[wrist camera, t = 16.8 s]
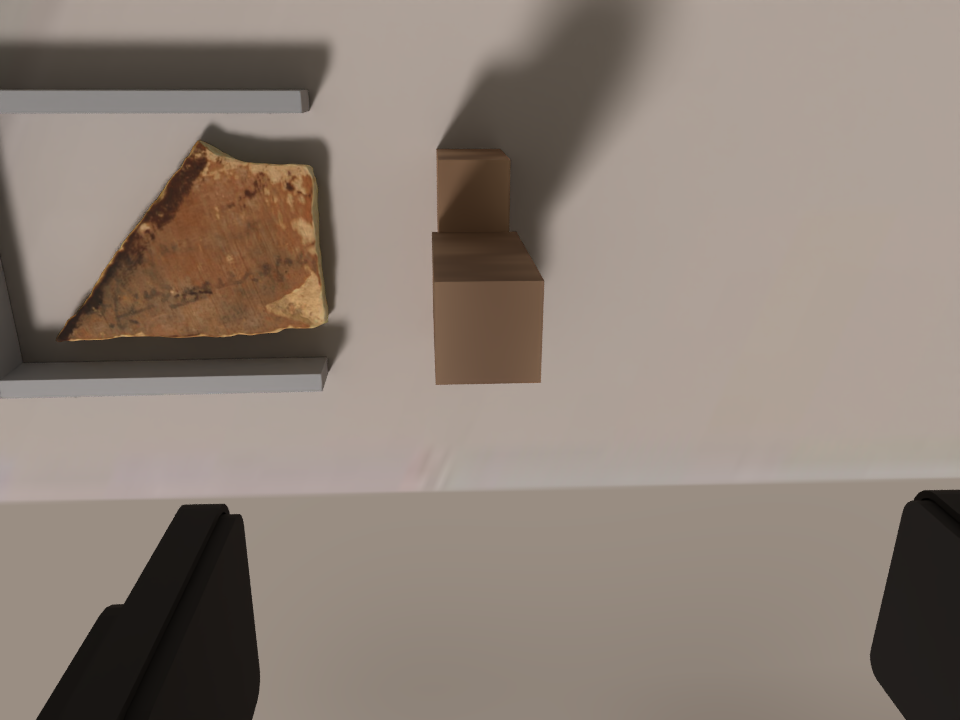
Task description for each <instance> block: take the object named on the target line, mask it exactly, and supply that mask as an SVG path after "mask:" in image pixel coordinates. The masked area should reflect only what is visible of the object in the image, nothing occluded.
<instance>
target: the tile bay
mask: <svg viewBox="0 0 960 720" xmlns="http://www.w3.org/2000/svg"><path fill="white" fill-rule="evenodd" d="M307 111H310V109H309V94H308V90H153V89H0V113H304V112H307ZM327 375H328V366H327V357H303V358H253V359H202V360H152V361H102V362H51V363H23V360H22V356H21V351H20V346H19V342H18V337H17V332H16V328H15V323H14V318H13V314H12V309H11V304H10V300H9V295H8V290H7V286H6V281H5V276H4V272H3V267H2V262H1V258H0V399H6V398H51V397H95V396H139V395H184V394H228V393H272V392H317V391H323V388H324V384H325V381H326V378H327Z"/></svg>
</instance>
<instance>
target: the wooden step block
mask: <svg viewBox="0 0 960 720" xmlns="http://www.w3.org/2000/svg"><path fill="white" fill-rule="evenodd" d="M509 214H510V159H509V158H508V157H507V156H506V155H505V153H504V152H503V151H502V150H501V149H437V222H438V232H432V263H433V319H434V348H435V376H436V385H448V384H498V383H541V358H542V330H543V301H544V280H543V278H542V276H541V274H540V273H539V271H538V269H537V267H536V265H535V264H534V262H533V260H532V258H531V257H530V255H529V253H528V251H527V250H526V248H525V246H524V244H523V243H522V241H521V239H520V237H519V236H518V234H517V232H509Z"/></svg>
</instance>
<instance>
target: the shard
mask: <svg viewBox="0 0 960 720" xmlns="http://www.w3.org/2000/svg"><path fill="white" fill-rule="evenodd" d="M317 200H318V186H317V183H316V178H315V176H314V173H313V168H312V167H311V166H309V165H303V164H282V165H279V164H266V163H251V162H243V161H240V160H237V159H235V158H233V157H231V156H230V155H228V154H226V153H224V152H222V151H220V150H219V149H218V148H216V147H214V146H211V145H209V144H208V143H205V142H203V141H201V140H199V141H197V142H196V144H195V145H194V146H193V148H192V151H191V153H190V154H189V156H188V157H187V158H185V160H184V162H183V164H182V166H181V167H180V169H179V170H178V171H177V172H176V173H175V174H174V175H173V176H172V178H171V179H170V180H169V181H168V182H167V184H166V186H165V188H164V189H163V191H162V192H161V194H160V195H159V197H158V199H157V200H156V201H155V202H154V203H153V204H152V205H151V206H150V208H149V209H148V211H147V212H146V214H145V215H144V217H143V218H142V220H141V221H140V222H139V224H138V225H137V226H136V227H135V229H134V230H133V231H132V232H131V233H130V234H129V235H128V237H127V238H126V240H125V241H124V242H123V243H122V245H121V248H120V249H119V250H118V251H117V252H116V253H115V255H114V257H113V258H112V259H111V261H110V262H109V264H108V265H107V266H106V268H105V269H104V270H103V272H102V273H101V276H100V278H99V280H98V281H97V283H96V284H95V286H94V287H93V289H92V292H91V295H90V296H89V297H88V298H87V300H86V301H85V303H84V305H83V306H82V307H81V308H80V309H79V310H78V312H77V313H76V315H74V316H72V317H71V318H70V319H68V320H67V322H66V324H65V326H64V328H63V329H62V330H61V332H60V333H59V335H58V337H57V338H56V341H57V342H63V341H78V340H104V339H111V338H117V337H122V336H125V337H133V336H138V337H140V336H155V337H156V336H162V337H172V338H184V337H198V336H209V337H226V336H234V335H237V334H245V335H255V334H264V333H278V332H280V331H282V330H284V329H286V328H315V327H317V326H319V325H321V324H323V323H327V322H328V315H329V312H328V304H327V300H326V293H325V285H324V278H323V271H322V262H321V261H322V257H321V251H320V246H319V242H320V241H319V212H318V203H317Z"/></svg>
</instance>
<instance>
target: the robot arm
mask: <svg viewBox="0 0 960 720" xmlns="http://www.w3.org/2000/svg"><path fill="white" fill-rule="evenodd" d="M870 661H871V666H872V670H873V673H874V675H875V677H876V679H877V681H878V682H879V683H880V685H881V686H882V687H883V689H884V690H885V692H886V693H887V694H888V696H889V697H890V698H891V700H892V701H893V703H894V704H895V705H896V707H897V708H898V709H899V711H900V712H901V713H902V715H903V716H904V718H905V719H906V720H960V490H924V491H922V492H920V493H918V494H917V496H916V497H915V498H914V501H910V502H908V503H907V504H906V505H905V507H904V509H903V513H902V517H901V522H900V526H899V530H898V535H897V539H896V543H895V547H894V552H893V556H892V560H891V565H890V569H889V573H888V578H887V582H886V586H885V591H884V595H883V599H882V604H881V608H880V612H879V617H878V621H877V625H876V630H875V634H874V638H873V643H872V647H871V653H870ZM259 686H260V668H259V659H258V650H257V641H256V631H255V624H254V613H253V604H252V595H251V586H250V576H249V567H248V558H247V549H246V540H245V531H244V524H243V519H242V516H241V515H240V514H229V510H228V507H227V506H226V505H225V504H198V505H197V504H193V505H182V506H181V507H180V508H179V510H178V511H177V513H176V515H175V517H174V518H173V520H172V522H171V524H170V525H169V527H168V529H167V530H166V532H165V534H164V536H163V537H162V539H161V541H160V543H159V544H158V546H157V548H156V550H155V551H154V553H153V555H152V556H151V558H150V560H149V562H148V563H147V565H146V567H145V568H144V570H143V572H142V574H141V575H140V577H139V579H138V581H137V583H136V584H135V586H134V588H133V589H132V591H131V593H130V595H129V596H128V598H127V600H126V601H125V603H124V604H117V605H111V606H109V607H106V608H105V610H104V611H103V612H102V613H101V615H100V616H99V617H98V619H97V621H96V622H95V624H94V626H93V627H92V629H91V631H90V632H89V634H88V635H87V637H86V639H85V640H84V642H83V644H82V645H81V647H80V648H79V650H78V652H77V654H76V655H75V657H74V658H73V660H72V662H71V663H70V665H69V666H68V668H67V670H66V671H65V673H64V675H63V676H62V678H61V680H60V681H59V683H58V685H57V686H56V688H55V689H54V691H53V693H52V694H51V696H50V698H49V699H48V701H47V703H46V704H45V706H44V708H43V709H42V711H41V712H40V714H39V716H38V717H37V719H36V720H252V718H253V714H254V711H255V707H256V704H257V700H258V695H259Z"/></svg>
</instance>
